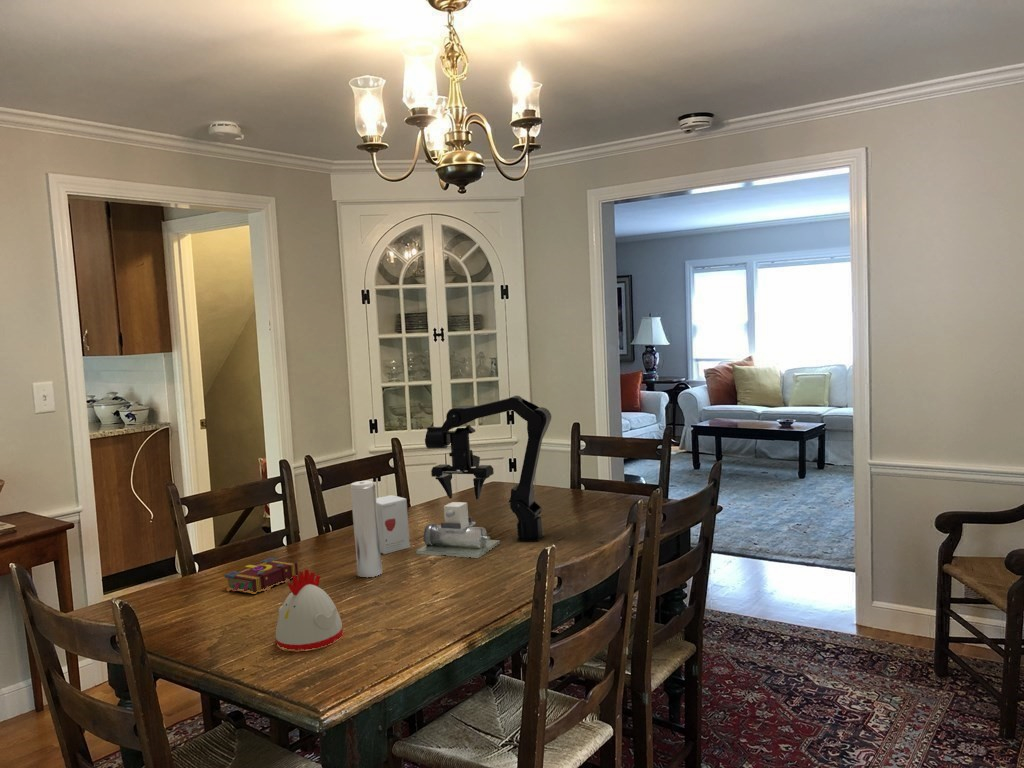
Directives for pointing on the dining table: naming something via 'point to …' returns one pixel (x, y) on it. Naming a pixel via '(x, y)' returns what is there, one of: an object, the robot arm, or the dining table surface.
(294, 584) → the kitchen timer
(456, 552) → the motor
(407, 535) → the supplement box
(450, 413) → the robot arm
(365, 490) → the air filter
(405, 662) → the dining table surface
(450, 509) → the off-white cube
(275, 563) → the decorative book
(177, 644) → the dining table surface
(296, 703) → the dining table surface
